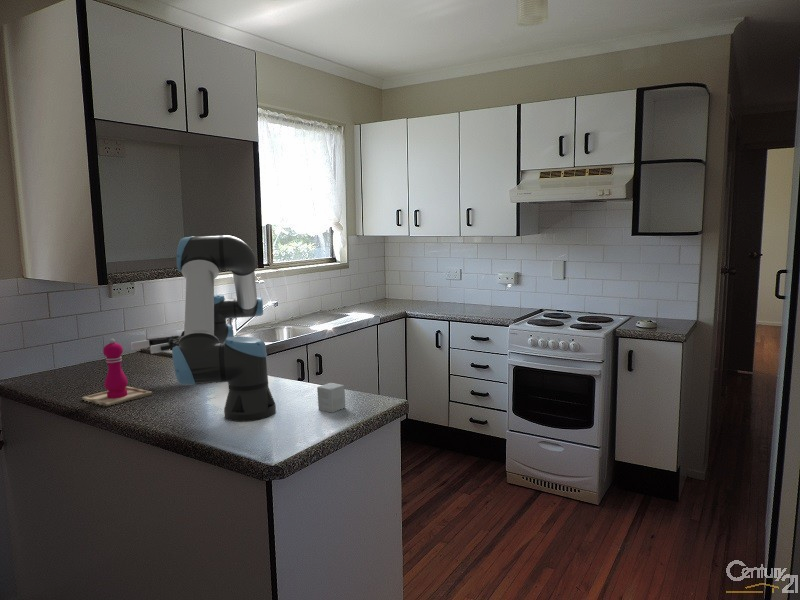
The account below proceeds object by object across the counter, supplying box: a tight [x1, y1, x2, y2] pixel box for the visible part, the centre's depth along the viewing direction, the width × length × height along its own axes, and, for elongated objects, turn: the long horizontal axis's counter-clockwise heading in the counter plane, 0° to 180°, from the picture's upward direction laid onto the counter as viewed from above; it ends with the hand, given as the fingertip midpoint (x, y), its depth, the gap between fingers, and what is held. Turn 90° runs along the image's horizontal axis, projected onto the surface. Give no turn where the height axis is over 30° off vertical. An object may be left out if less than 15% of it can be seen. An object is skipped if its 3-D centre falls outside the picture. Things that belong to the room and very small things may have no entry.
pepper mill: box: [102, 338, 129, 398], centre depth 202 cm, size 7×7×20 cm
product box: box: [316, 382, 346, 413], centre depth 181 cm, size 6×6×7 cm
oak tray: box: [81, 385, 153, 407], centre depth 204 cm, size 16×16×1 cm
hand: (140, 348), depth 210 cm, fingers open, 13 cm apart
